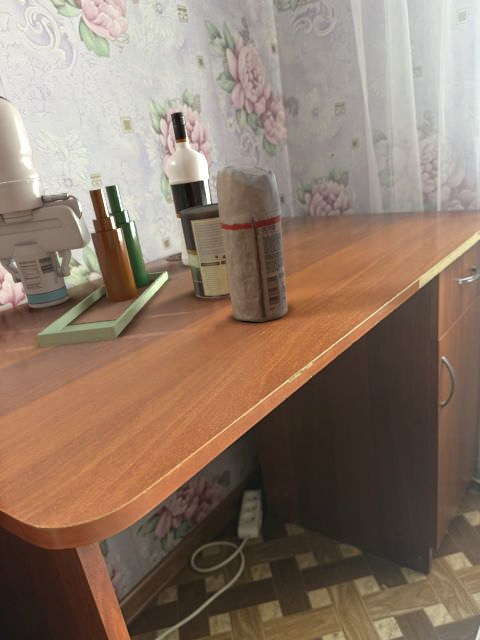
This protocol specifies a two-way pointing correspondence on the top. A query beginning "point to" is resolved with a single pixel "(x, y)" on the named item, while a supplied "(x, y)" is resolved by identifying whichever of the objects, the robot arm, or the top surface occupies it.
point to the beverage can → (40, 276)
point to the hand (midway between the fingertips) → (42, 279)
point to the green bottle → (128, 236)
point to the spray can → (252, 242)
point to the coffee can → (205, 250)
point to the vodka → (186, 176)
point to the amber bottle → (111, 252)
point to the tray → (100, 329)
